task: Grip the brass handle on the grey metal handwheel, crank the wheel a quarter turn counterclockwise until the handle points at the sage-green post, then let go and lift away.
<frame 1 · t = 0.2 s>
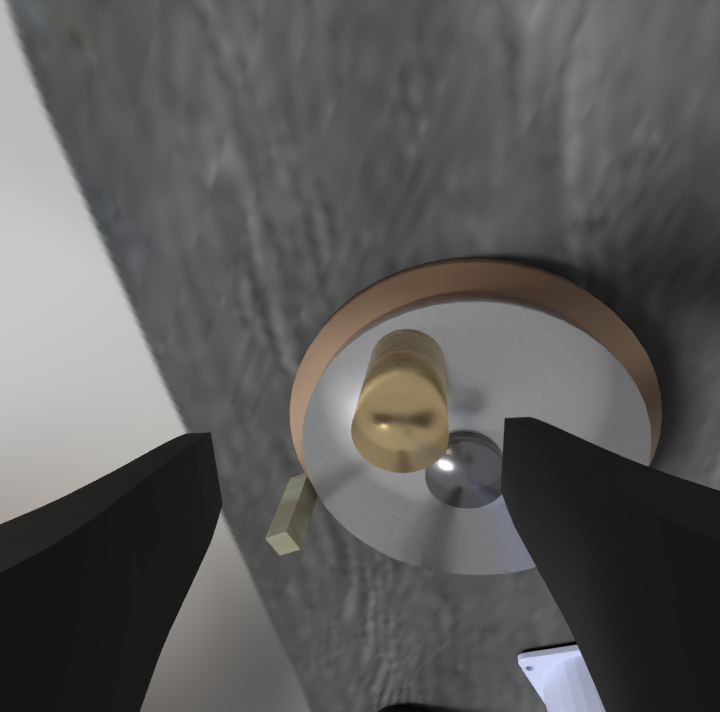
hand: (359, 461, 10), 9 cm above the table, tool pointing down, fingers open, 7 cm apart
wheel base: (460, 426, 20), on the table
handwheel: (467, 490, 16), point 4 cm above the table, hinge at 0.0°
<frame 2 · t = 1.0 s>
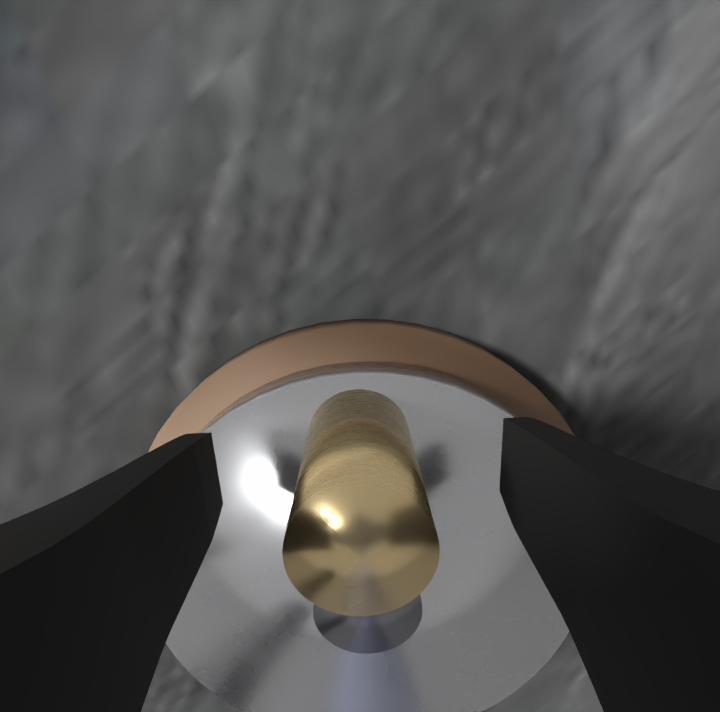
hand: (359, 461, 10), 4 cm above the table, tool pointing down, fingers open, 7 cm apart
wheel base: (364, 530, 16), on the table
handwheel: (368, 632, 12), point 4 cm above the table, hinge at 0.0°
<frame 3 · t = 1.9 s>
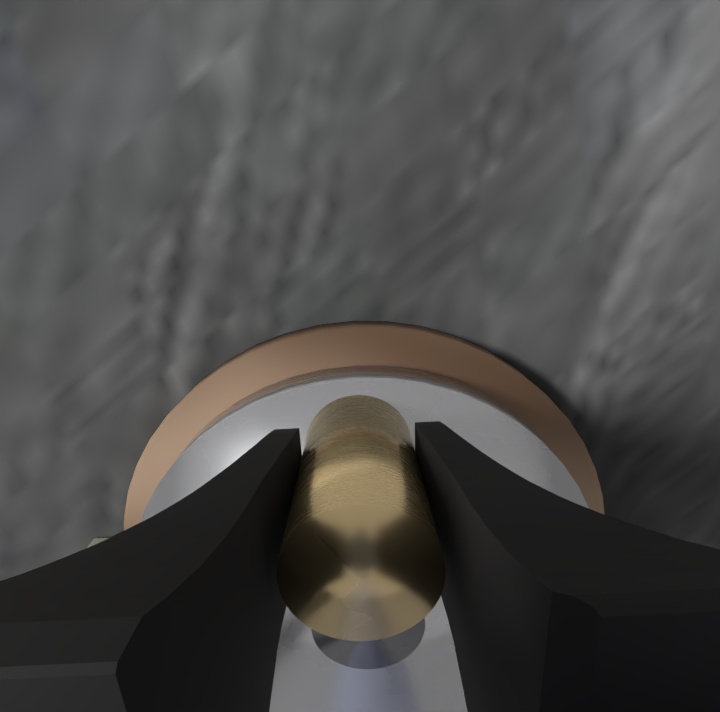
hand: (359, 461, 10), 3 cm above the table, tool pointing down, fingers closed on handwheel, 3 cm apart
wheel base: (365, 539, 15), on the table
handwheel: (368, 649, 11), point 4 cm above the table, hinge at 0.0°, touching gripper
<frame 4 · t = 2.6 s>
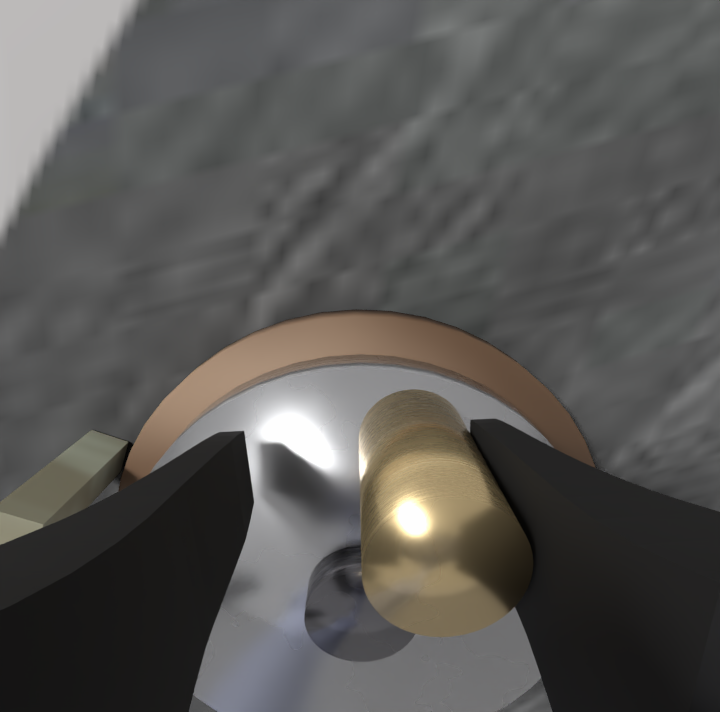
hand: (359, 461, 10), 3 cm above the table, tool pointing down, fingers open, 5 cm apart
wheel base: (360, 531, 15), on the table
handwheel: (362, 641, 11), point 4 cm above the table, hinge at 6.8°, touching gripper
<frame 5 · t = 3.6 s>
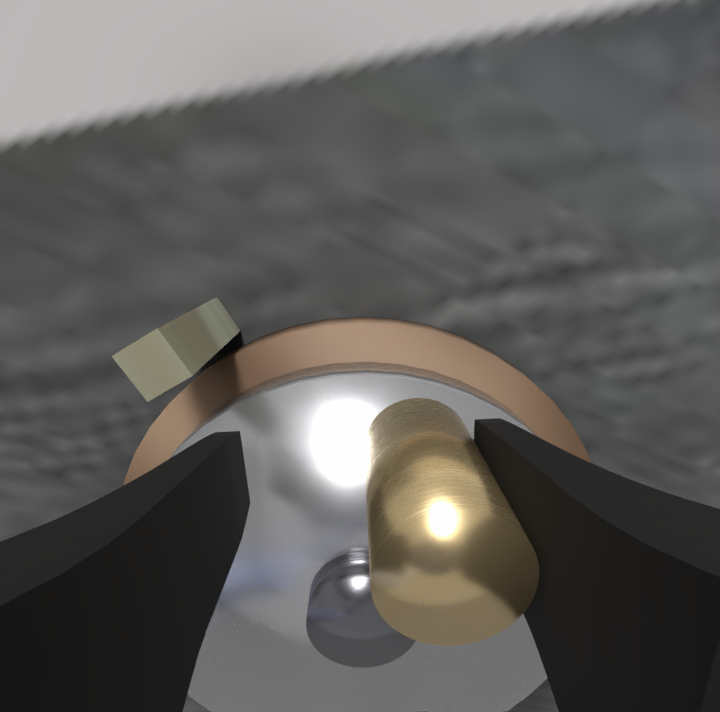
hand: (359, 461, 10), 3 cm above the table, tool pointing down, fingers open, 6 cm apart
wheel base: (361, 537, 15), on the table
handwheel: (364, 647, 11), point 4 cm above the table, hinge at 44.2°, touching gripper
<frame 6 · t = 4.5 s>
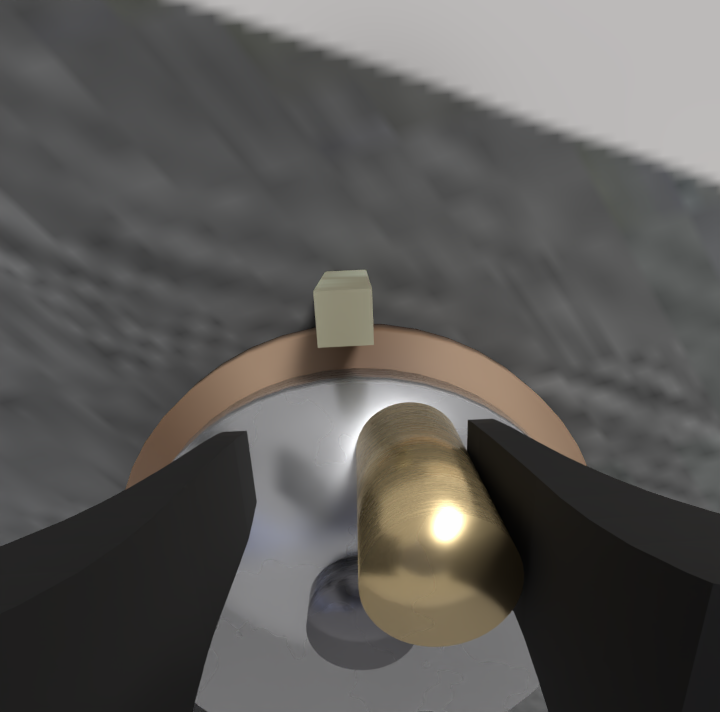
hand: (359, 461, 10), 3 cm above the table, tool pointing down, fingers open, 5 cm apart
wheel base: (360, 540, 15), on the table
handwheel: (363, 650, 11), point 4 cm above the table, hinge at 73.7°, touching gripper
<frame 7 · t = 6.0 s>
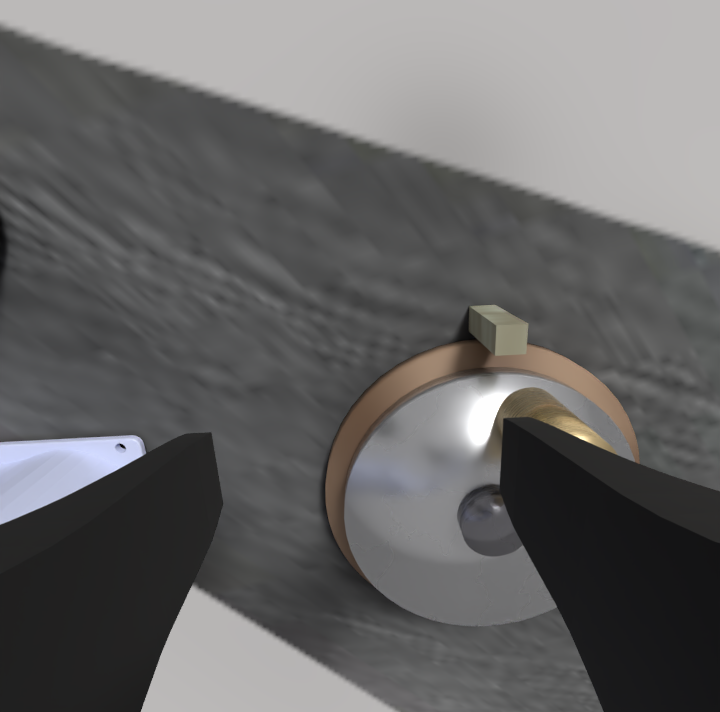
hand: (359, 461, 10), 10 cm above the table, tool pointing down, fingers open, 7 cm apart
wheel base: (476, 483, 23), on the table
handwheel: (502, 538, 19), point 4 cm above the table, hinge at 73.7°
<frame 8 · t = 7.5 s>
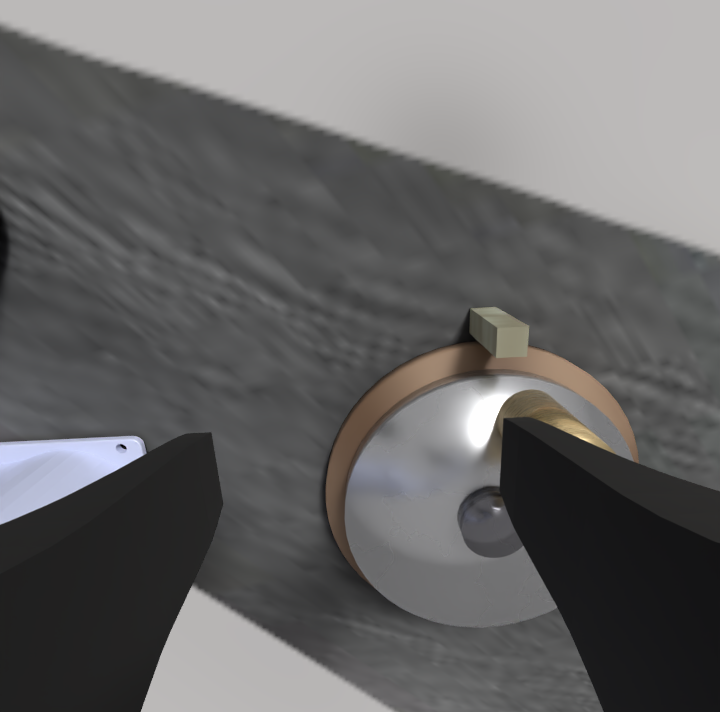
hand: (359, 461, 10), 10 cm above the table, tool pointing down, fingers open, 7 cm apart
wheel base: (476, 484, 23), on the table
handwheel: (501, 539, 19), point 4 cm above the table, hinge at 73.7°
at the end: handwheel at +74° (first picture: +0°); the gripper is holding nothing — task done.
